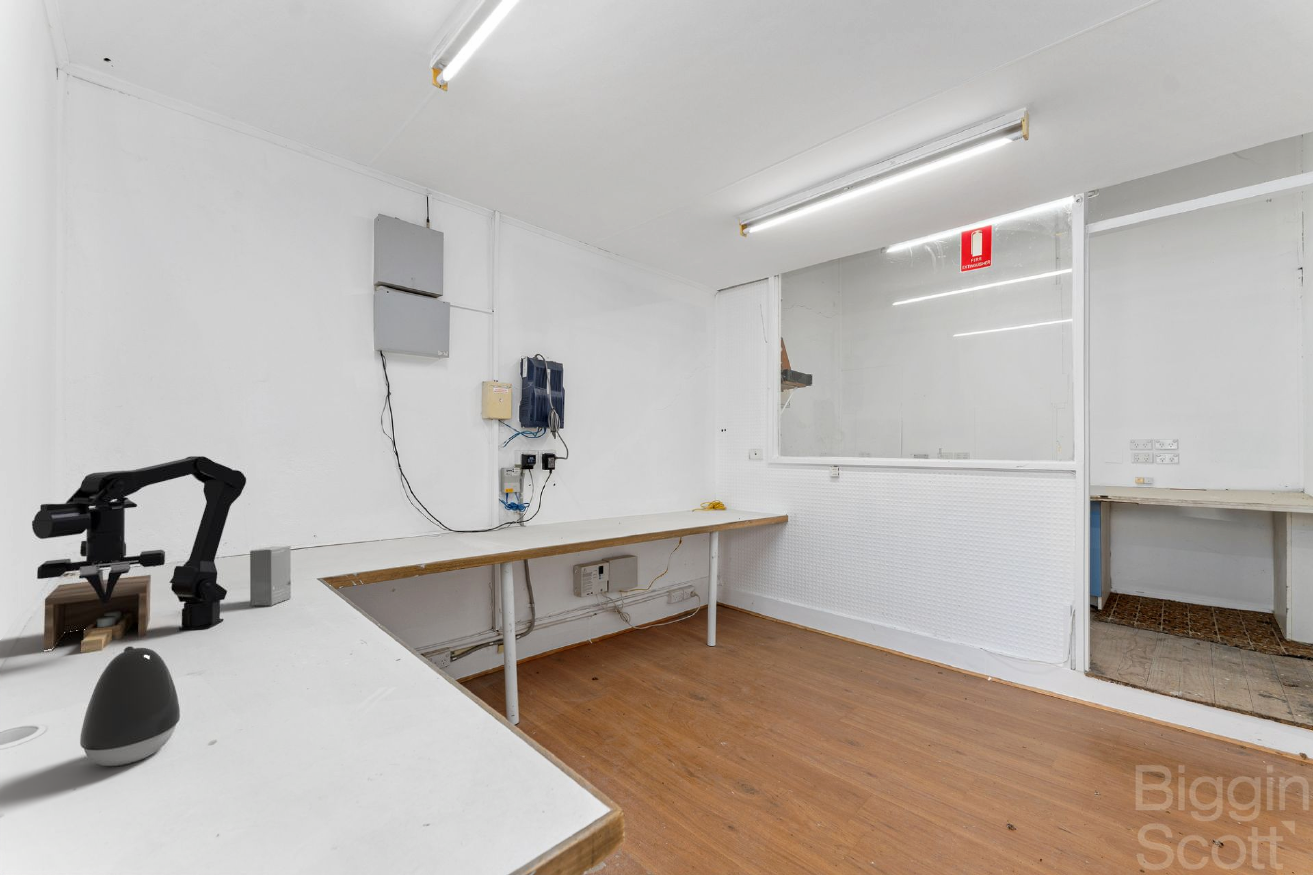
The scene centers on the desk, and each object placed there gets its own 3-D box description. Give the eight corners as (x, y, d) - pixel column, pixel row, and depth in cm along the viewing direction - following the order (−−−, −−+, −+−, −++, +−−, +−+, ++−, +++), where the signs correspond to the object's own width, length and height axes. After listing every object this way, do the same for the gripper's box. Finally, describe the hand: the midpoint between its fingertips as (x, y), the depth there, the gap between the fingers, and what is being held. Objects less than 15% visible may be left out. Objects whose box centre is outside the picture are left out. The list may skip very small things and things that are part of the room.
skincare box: (271, 606, 150) (272, 550, 150) (246, 606, 150) (247, 550, 150) (292, 598, 158) (293, 544, 159) (269, 598, 159) (270, 544, 159)
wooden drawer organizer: (145, 635, 126) (146, 586, 127) (43, 652, 116) (45, 598, 116) (149, 619, 139) (150, 574, 139) (57, 633, 128) (59, 584, 128)
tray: (110, 648, 118) (111, 628, 118) (71, 654, 115) (72, 633, 115) (132, 624, 134) (133, 606, 135) (98, 629, 131) (99, 610, 131)
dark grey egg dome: (171, 729, 84) (173, 631, 84) (185, 752, 77) (188, 647, 78) (76, 758, 76) (79, 650, 76) (82, 787, 69) (85, 669, 70)
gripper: (166, 522, 127) (166, 588, 127) (48, 531, 115) (48, 603, 115) (164, 527, 119) (163, 598, 118) (36, 537, 106) (36, 616, 106)
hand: (105, 603), depth 115 cm, fingers closed
